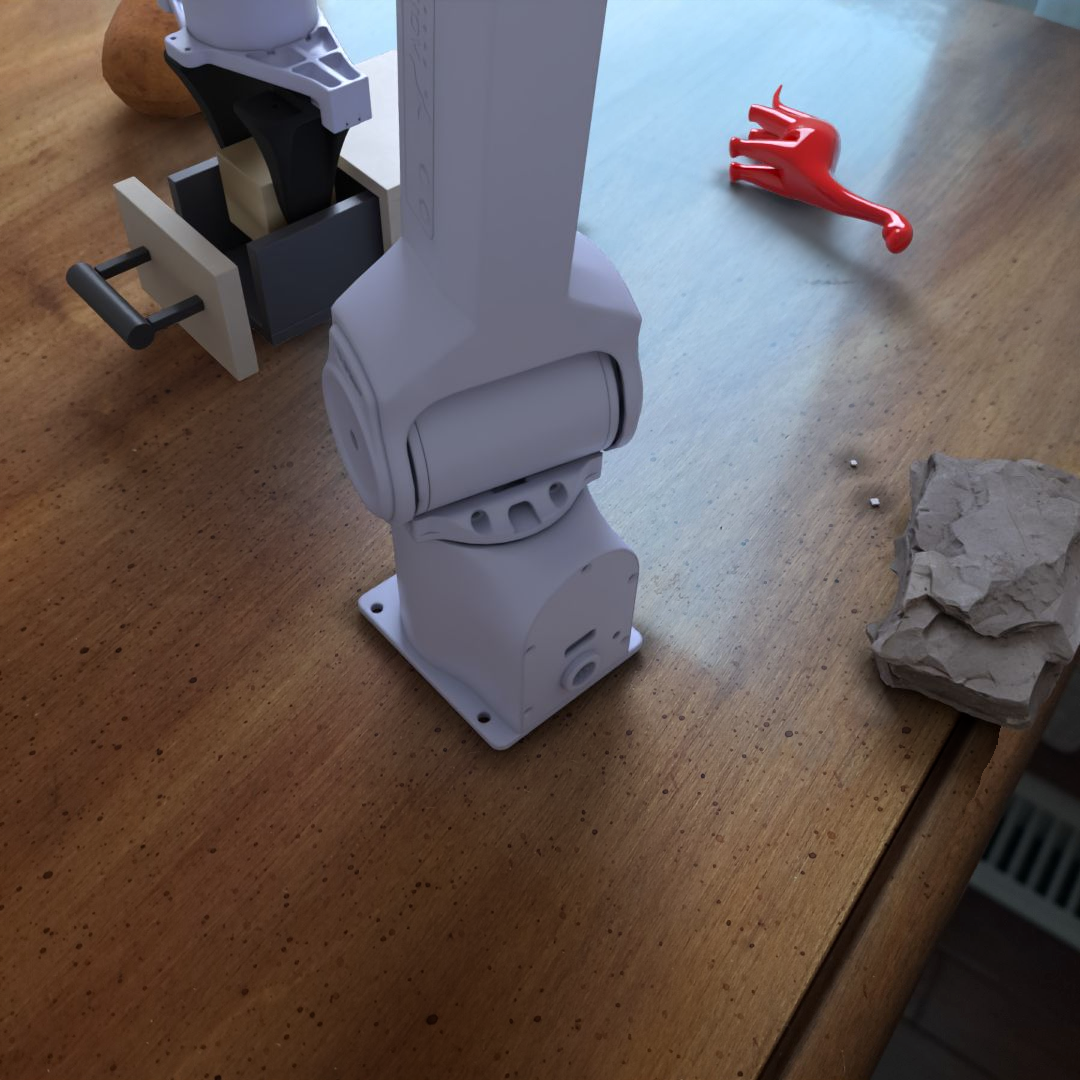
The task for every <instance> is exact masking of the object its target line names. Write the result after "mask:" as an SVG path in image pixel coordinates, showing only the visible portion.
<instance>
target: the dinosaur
mask: <svg viewBox="0 0 1080 1080" xmlns="http://www.w3.org/2000/svg"><path fill="white" fill-rule="evenodd" d="M782 89H783V84H780V85H779V86H778V88H777V89H776V90H775V92H774V93H773V96H772V101H771V107H770V106H766V105H762V104H757V103H753V104H751V105H750V106H749V109H748V115H747V117H748V121H749V122H750V123H754V124H757V125H758V126H759V127H760V128H751V129H750V131H749V133H748V136H747V139H743V138H739V137H737V136H733V137H731V138H730V139H729V143H728V153H729V157H730V158H731V159H735V158H738V157H747V158H749V159H753V160H754V161H758V163H761V164H745V163H739V162H737V161H731V162H730V164H729V168H728V179H729V181H730V183H736V182H739V181H745V182H748V183H751V184H753V185H755V186H757V187H759V188H762V189H763V190H765V191H768V192H770V193H772V194H775V195H778V196H781V197H783V198H786V199H789V200H796V201H799V202H802V203H805V204H807V205H810V206H812V207H815V208H819V209H821V210H824V211H827V212H830V213H831V214H835V215H838V216H843V217H848V218H853V219H857V220H861V221H865V222H869V223H871V224H874V225H878V226H881V227H882V230H881V237H882V239H883V240H884V242H885V246H886V249H887V250H888V251H889V252H890V253H891V254H893V255H898V254H901V253H902V252H904V251H905V250H906V249H907V248H909V246H910V245H911V243H912V241H913V237H914V230H913V227H912V224H911V223H910V221H909V220H908V219H907V218H906V217H905V216H904V215H902V214H901V213H900V212H899V211H897V210H895V209H893V208H890V207H887V206H883V205H880V204H878V203H875V202H873V201H871V200H869V199H866V198H864V197H862V196H859V195H858V194H855V193H854V192H852V191H851V190H849V189H847V188H846V187H845V186H843V185H842V184H840V183H839V182H838V181H837V180H836V179H835V178H834V176H835V173H836V170H837V167H838V164H839V160H840V156H841V150H842V139H841V135H840V132H839V130H838V128H837V127H836V126H835V125H834V124H833V123H832V122H830V121H829V120H826V119H823V118H820V117H818V116H815V115H812V114H809V113H806V112H804V111H801V110H798V109H795V108H792V107H790V106H788V105H785V104H783V103H782V102H781V98H780V96H781V93H782Z"/></svg>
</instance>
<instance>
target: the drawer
mask: <svg viewBox="0 0 1080 1080" xmlns="http://www.w3.org/2000/svg"><path fill="white" fill-rule="evenodd" d="M166 180H167V183H168V189H169V192H170V195H171V200H172V204H173V209H172V208H171V207H170V206H169V205H167V204H166V203H165V202H164V201H163V200H162V199H161V198H160V197H158V196H157V195H156V194H155V193H154V192H152V191H151V190H150V189H149V188H148V187H147V185H144V184H143V183H142V182H141V181H140V180H139V179H138V178H136V177H135V176H131V177H129V178H126V179H123V180H122V181H119V182H116V183H113V184H112V189H113V193H114V195H115V199H116V203H117V206H118V210H119V214H120V216H121V220H122V224H123V228H124V230H125V234H126V237H127V240H128V241H127V242H128V244H129V247H130V250H129V251H127V252H125V253H123V254H120V255H118V256H115V257H112V258H111V259H109V260H107V261H103V262H102V263H99V264H97V265H94V266H92V265H90V263H87V262H83V261H82V262H81V261H80V262H76V263H74V264H72V265H71V266H70V267H69V268H68V269H67V271H66V274H65V281H66V284H67V285H68V286H69V287H70V288H71V289H72V290H73V291H74V292H75V293H76V294H77V295H78V296H79V297H80V298H81V299H82V300H83V301H84V303H86V305H88V307H90V308H91V309H92V310H93V311H94V312H95V313H96V314H97V316H98V317H100V319H102V321H103V322H104V323H105V324H107V326H109V328H110V329H111V330H112V331H114V333H115V334H116V335H117V336H118V337H119V338H121V340H122V341H123V342H124V343H125V344H127V346H128V347H129V348H131V349H132V350H135V351H142V350H145V349H148V347H150V346H151V345H152V344H153V343H154V341H155V339H156V334H157V333H158V332H160V331H162V330H165V329H166V328H170V327H171V326H174V325H175V324H178V325H179V326H180V327H181V328H182V329H184V331H185V332H187V333H188V334H189V335H190V336H191V337H192V338H193V339H194V340H195V341H196V342H197V343H198V344H199V345H200V346H201V347H202V348H203V349H204V350H205V351H206V352H207V353H208V354H210V355H211V356H212V357H213V358H214V359H215V360H216V361H217V362H218V363H219V364H220V365H221V366H222V367H223V368H224V369H225V370H226V371H227V372H228V373H229V374H230V375H232V376H233V377H234V378H235V379H236V381H238V382H241V381H243V380H244V379H247V378H249V377H251V376H253V375H254V374H257V373H259V371H260V368H259V363H258V359H257V353H256V349H255V343H254V340H253V339H254V338H253V333H252V330H251V328H252V329H253V330H254V331H255V332H256V333H257V334H258V335H259V336H260V337H261V338H262V339H263V340H265V341H266V342H267V344H269V345H270V346H271V347H272V348H276V347H277V346H279V345H282V344H284V343H286V342H288V341H290V340H291V339H294V338H296V337H298V336H300V335H302V334H303V333H306V332H308V331H310V330H312V329H313V328H315V327H317V326H319V325H322V324H323V323H325V322H326V323H327V322H328V321H329V320H332V313H331V307H332V306H333V304H334V303H335V301H336V300H337V299H338V298H339V297H340V296H341V295H342V294H343V293H344V292H345V291H346V290H347V289H348V288H349V287H350V286H351V285H352V284H353V283H354V282H355V281H356V280H357V279H358V278H359V277H360V276H361V275H362V274H364V273H365V272H366V271H367V270H368V269H369V268H370V267H371V266H372V265H373V264H374V263H375V262H376V261H378V260H379V259H380V258H381V257H382V256H383V255H384V246H383V235H382V225H381V214H380V203H379V197H378V196H377V195H375V194H374V193H372V192H371V191H370V190H368V189H367V188H366V187H364V186H363V185H362V184H360V183H359V182H358V181H356V180H355V179H354V178H352V177H351V176H350V175H348V174H347V173H346V172H344V171H343V170H342V169H340V168H339V167H338V166H337V170H336V176H335V182H334V186H335V194H336V202H337V204H335V205H332V206H330V207H328V208H326V209H323V210H321V211H319V212H317V213H314V214H312V215H310V216H308V217H306V218H303V219H301V220H299V221H297V222H294V223H292V224H290V225H288V226H285V227H283V228H281V229H279V230H276V231H274V232H272V233H270V234H268V235H265V236H263V237H261V238H259V239H256V240H254V241H253V240H252V239H251V238H250V237H249V236H247V235H246V234H245V233H244V232H243V231H242V230H240V229H239V228H238V227H237V226H236V225H234V224H233V223H232V222H231V221H230V217H229V212H228V208H227V203H226V198H225V193H224V188H223V183H222V179H221V174H220V169H219V164H218V159H217V155H216V156H214V157H212V158H208V159H206V160H204V161H202V162H199V163H196V164H194V165H192V166H188V167H186V168H184V169H181V170H178V171H176V172H175V173H172V174H170V175H169V174H168V175H167V176H166ZM135 268H136V272H137V275H138V279H139V282H140V286H141V289H142V291H144V293H146V295H148V296H149V297H150V298H151V300H153V301H154V302H155V303H156V304H157V305H158V306H159V307H160V308H162V310H158V311H157V312H155V313H153V314H151V315H148V316H146V317H144V316H143V315H142V314H141V313H140V312H139V311H137V309H136V308H135V307H133V306H132V305H131V304H130V302H129V301H128V300H126V299H125V298H124V297H123V296H122V294H120V293H119V292H118V291H117V290H116V289H115V288H114V287H113V286H112V285H111V284H110V283H109V282H108V280H109V279H112V278H114V277H116V276H118V275H121V274H123V273H125V272H128V271H130V270H132V269H135Z"/></svg>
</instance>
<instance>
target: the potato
mask: <svg viewBox="0 0 1080 1080" xmlns="http://www.w3.org/2000/svg"><path fill="white" fill-rule="evenodd" d="M178 31H180V28H179V25H178V23H177V20H176V18H175V15H174V14H169V13H167V12H165V11H164V10H163V9H161V8H160V7H159V6H158V2H157V0H120V2H119V3H118V5H117V7H116V9H115V11H114V14H113V15H112V17H111V19H110V22H109V24H108V26H107V28H106V31H105V33H104V37H103V44H102V52H101V71H102V77H103V79H104V80H105V82H106V83H107V85H108V86H109V88H110V89H111V91H112V92H113V94H115V96H117V97H118V98H119V99H120V100H121V101H122V102H123V103H124V104H125V105H126V106H127V107H129V108H131V109H133V110H134V111H136V112H140V113H143V114H146V115H149V116H152V117H158V118H174V119H179V118H185V117H188V116H192V115H196V114H198V113H202V111H201V110H200V108H199V106H198V104H197V103H196V101H195V100H194V98H193V97H192V95H191V94H190V92H189V91H188V89H187V88H186V86H185V85H184V84H183V82H182V81H181V80H180V79H179V77H178V76H177V75H176V74H175V73H174V71H173V70H172V69H171V68H170V67H169V66H168V64H167V63H166V62H165V59H164V55H163V53H164V50H165V49H166V46H165V42H164V40H165V38H166V36H168V35H170V34H172V33H175V32H178Z"/></svg>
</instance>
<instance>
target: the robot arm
mask: <svg viewBox="0 0 1080 1080" xmlns="http://www.w3.org/2000/svg"><path fill="white" fill-rule="evenodd" d="M608 1H609V0H395V15H396V16H395V17H396V18H395V22H396V48H397V65H398V109H399V152H400V196H401V237H400V238H399V239H398V241H397V242H396V243H395V244H394V245H393V246H392V247H391V248H390V249H389V250H388V251H387V252H386V253H385V254H384V255H383V256H382V257H381V258H380V259H379V260H378V261H376V262H375V263H374V264H373V265H372V266H371V267H370V268H369V269H368V270H367V271H366V272H365V273H364V274H362V275H361V276H360V277H359V278H358V279H357V280H356V281H355V282H354V283H353V284H352V285H351V286H350V287H349V288H348V289H347V290H346V291H345V292H344V293H343V294H342V295H341V296H340V297H339V298H338V299H337V300H336V301H335V303H334V304H333V306H332V307H331V313H332V319H331V321H332V325H331V326H330V328H329V330H328V339H329V341H328V342H329V343H328V344H329V345H328V346H329V347H328V357H327V360H326V363H325V365H324V367H323V368H322V369H323V370H322V373H321V387H322V395H323V401H324V405H325V409H326V414H327V418H328V422H329V426H330V429H331V432H332V435H333V438H334V441H335V445H336V449H337V451H338V453H339V456H340V459H341V461H342V464H343V466H344V469H345V472H346V474H347V476H348V479H349V481H350V482H351V484H352V486H353V489H354V491H355V493H356V495H357V496H358V498H359V500H360V501H361V503H362V504H363V506H364V507H365V508H366V510H367V511H368V512H369V513H370V514H372V515H373V516H376V518H379V519H381V520H383V521H384V522H386V523H387V524H388V525H389V526H390V529H391V538H392V539H391V540H392V546H393V556H394V565H395V571H396V572H395V574H393V575H391V576H390V577H388V578H387V579H385V580H383V581H382V582H380V583H379V584H378V585H376V586H374V587H373V588H371V589H369V590H368V591H366V592H364V593H363V594H362V595H361V596H359V598H358V600H357V605H358V606H357V607H358V610H359V612H360V614H362V615H363V617H365V619H367V620H368V622H369V623H370V624H372V625H373V627H374V628H375V629H376V630H377V631H378V632H379V633H380V634H381V635H382V636H383V637H384V638H385V639H386V640H387V641H388V642H389V643H390V645H392V646H393V647H394V648H395V649H396V650H397V651H398V653H399V654H400V655H402V657H404V659H405V660H406V661H407V662H408V663H409V664H410V665H411V666H412V667H413V668H414V669H415V670H416V671H417V672H418V673H419V674H420V675H421V676H422V677H423V678H424V679H425V680H426V681H427V683H429V684H430V685H431V687H432V688H433V689H435V691H436V692H437V693H438V694H439V695H440V696H441V697H442V698H443V699H444V700H445V701H446V702H447V703H448V704H449V705H450V706H451V707H452V708H453V709H454V710H455V711H456V713H458V714H459V715H460V717H461V718H463V720H465V721H466V722H467V724H468V725H469V726H470V727H471V728H472V729H474V731H475V732H476V733H477V734H478V735H479V736H480V737H481V738H482V740H484V741H485V742H486V743H487V744H488V745H489V746H490V747H491V748H492V749H493V750H497V751H505V750H507V749H509V748H511V747H512V746H513V745H515V744H516V743H517V742H518V741H520V740H522V738H524V737H525V736H527V735H528V734H529V733H531V732H532V731H533V730H534V729H536V728H537V727H538V726H540V725H542V723H544V722H546V721H547V720H548V719H550V718H551V717H552V716H553V715H555V714H556V713H557V712H559V711H560V710H562V709H563V708H564V707H565V706H567V705H568V704H569V703H571V702H572V701H573V700H575V699H576V698H577V697H579V696H580V695H581V694H582V693H584V692H585V691H587V690H588V689H589V688H590V687H592V686H593V685H594V684H596V683H597V682H599V681H600V680H601V679H603V678H604V677H605V676H607V675H608V674H609V673H610V672H612V671H613V670H615V669H616V668H617V667H619V666H620V665H621V664H622V663H624V662H626V661H627V660H628V659H630V657H632V656H633V655H634V654H636V653H637V652H639V651H640V649H641V648H642V644H643V635H641V633H640V632H639V631H638V630H637V629H636V628H635V627H634V626H633V620H634V613H635V606H636V599H637V591H638V584H639V577H640V561H639V558H638V556H637V553H635V551H634V550H633V549H632V547H631V546H630V545H629V544H628V543H627V542H626V541H624V540H623V538H622V537H621V536H620V535H618V533H617V532H616V531H615V530H614V529H613V528H612V527H611V525H610V524H609V522H608V521H607V520H606V518H605V517H604V516H603V514H602V513H601V511H600V510H599V508H598V506H597V504H596V502H595V500H594V498H593V495H592V494H591V491H590V489H589V487H588V484H590V483H592V482H594V481H596V480H599V479H600V478H601V476H602V467H603V466H602V465H603V454H604V453H603V452H605V453H606V452H608V451H611V450H615V449H620V448H623V447H625V446H626V445H628V444H629V443H630V442H631V440H632V439H633V438H634V436H635V434H636V431H637V429H638V425H639V420H640V416H641V413H642V409H643V404H644V403H643V402H644V380H643V375H642V374H643V373H642V368H641V362H640V357H639V356H640V355H639V336H640V333H641V332H640V331H641V328H642V327H641V326H642V321H643V317H642V314H641V313H640V310H639V308H638V306H637V304H636V301H635V300H634V297H633V295H632V293H631V291H630V289H629V287H628V285H627V283H626V282H625V280H624V279H623V277H622V275H621V274H620V273H619V270H618V269H617V267H616V266H615V265H614V264H613V262H612V261H611V260H610V258H609V257H608V256H607V255H606V253H605V252H604V251H603V250H602V249H601V248H600V247H599V246H598V245H597V244H596V243H595V242H594V241H592V240H591V239H590V238H589V237H587V236H586V235H585V234H583V233H582V232H580V231H578V230H577V229H578V223H579V215H580V208H581V201H582V193H583V192H582V191H583V185H584V178H585V170H586V164H587V163H586V162H587V156H588V148H589V141H590V134H591V126H592V118H593V111H594V104H595V97H596V96H595V95H596V89H597V82H598V75H599V67H600V59H601V53H602V44H603V39H604V38H603V37H604V31H605V24H606V22H605V21H606V14H607V8H608V7H607V6H608ZM157 2H158V6H159V7H160V8H161V9H163V10H164V11H165V12H167V13H169V14H174V15H175V18H176V20H177V23H178V25H179V28H180V31H178V32H175V33H172V34H170V35H168V36H166V38H165V40H164V42H165V46H166V49H165V50H164V53H163V55H164V59H165V62H166V63H167V64H168V66H169V67H170V68H171V69H172V70H173V71H174V73H175V74H176V75H177V76H178V77H179V79H180V80H181V81H182V82H183V84H184V85H185V86H186V88H187V89H188V91H189V92H190V94H191V95H192V97H193V98H194V100H195V101H196V103H197V104H198V106H199V108H200V110H201V113H202V115H203V117H204V118H205V121H206V122H207V124H208V126H209V128H210V130H211V132H212V135H213V137H214V139H215V142H216V143H217V145H218V147H219V150H221V149H223V148H225V147H228V146H230V145H233V144H235V143H238V142H240V141H243V140H245V139H248V138H250V137H253V138H254V140H255V141H256V143H257V145H258V147H259V149H260V151H261V153H262V155H263V157H264V160H265V162H266V165H267V167H268V170H269V173H270V176H271V179H272V183H273V187H274V190H275V194H276V197H277V201H278V203H279V206H280V209H281V211H282V213H283V216H284V218H285V220H286V222H287V223H288V225H290V224H292V223H294V222H297V221H299V220H301V219H303V218H306V217H308V216H310V215H312V214H314V213H317V212H319V211H321V210H323V209H326V208H328V207H330V206H331V201H332V195H333V188H334V182H335V176H336V170H337V165H338V161H339V157H340V153H341V149H342V146H343V143H344V141H345V138H346V136H347V133H348V131H349V129H350V128H351V127H353V126H356V125H358V124H360V123H362V122H364V121H367V120H369V119H371V118H372V110H371V99H370V89H369V78H368V76H366V75H365V74H364V73H362V72H361V71H360V70H358V69H357V68H356V67H355V66H354V65H355V64H353V62H352V60H351V59H350V57H349V56H348V55H347V52H346V51H345V49H344V48H343V46H342V44H341V42H340V40H339V39H338V37H337V35H336V33H335V32H334V30H333V29H332V25H330V23H329V21H328V18H327V17H326V15H325V14H324V12H323V11H322V9H321V7H320V6H319V5H318V3H317V0H157ZM376 610H381V611H380V612H374V611H376ZM482 718H487V719H488V720H489V721H487V722H481V721H479V720H480V719H482Z"/></svg>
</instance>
